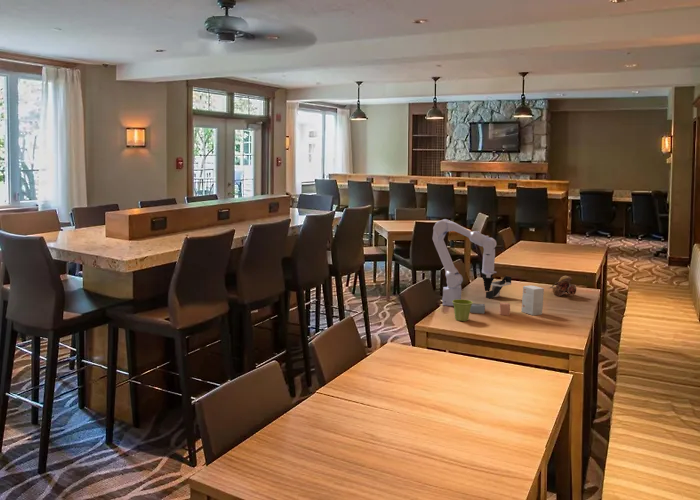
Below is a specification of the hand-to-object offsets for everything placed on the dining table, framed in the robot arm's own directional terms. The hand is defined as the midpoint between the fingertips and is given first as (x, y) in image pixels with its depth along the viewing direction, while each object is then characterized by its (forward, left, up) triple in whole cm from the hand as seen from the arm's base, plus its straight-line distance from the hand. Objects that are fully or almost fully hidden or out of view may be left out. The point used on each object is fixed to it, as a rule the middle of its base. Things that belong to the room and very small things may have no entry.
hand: (486, 289), depth 307 cm
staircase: (+8, +26, -11) cm, 29 cm away
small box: (+22, -3, -10) cm, 24 cm away
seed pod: (+44, +43, -10) cm, 62 cm away
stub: (+9, -8, -10) cm, 15 cm away
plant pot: (-12, -25, -10) cm, 30 cm away
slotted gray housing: (-5, -8, -10) cm, 14 cm away
